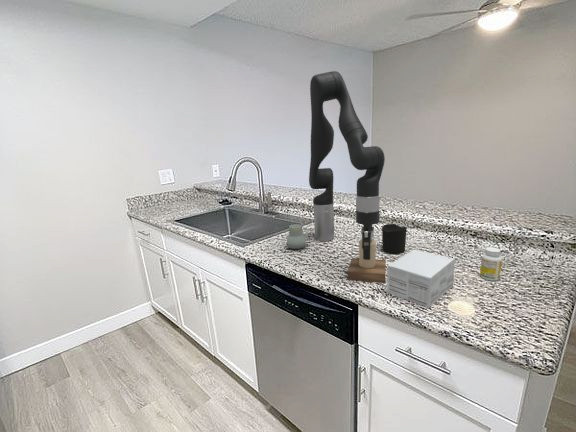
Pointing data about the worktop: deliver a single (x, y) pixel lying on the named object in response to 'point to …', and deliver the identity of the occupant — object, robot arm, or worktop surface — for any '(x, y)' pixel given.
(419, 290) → the supplement box
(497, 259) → the supplement bottle
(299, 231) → the air freshener
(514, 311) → the worktop surface
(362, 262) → the candle
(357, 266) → the walnut pedestal
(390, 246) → the pen holder
